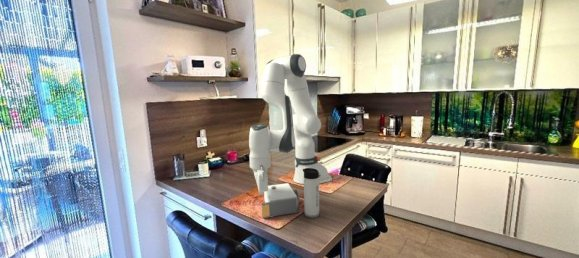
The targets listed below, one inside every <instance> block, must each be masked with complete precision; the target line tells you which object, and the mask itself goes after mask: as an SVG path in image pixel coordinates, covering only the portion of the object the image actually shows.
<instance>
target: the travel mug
mask: <svg viewBox="0 0 579 258" xmlns="http://www.w3.org/2000/svg"><path fill="white" fill-rule="evenodd" d="M303 172H304V184H303V198H304V199H303V200H304V201H303V205H304V206H303V207H304V208H303V209H304V212H303V213H304V216H306V217H307V218H310V219H311V218H312V219H314V218H317V217H319V215H320V184H319V171H318V170H317V169H313V168H305V169H303Z"/></svg>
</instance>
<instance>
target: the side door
mask: <svg viewBox="0 0 579 258" xmlns="http://www.w3.org/2000/svg"><path fill="white" fill-rule="evenodd" d="M260 205H261V217H262V219H264V218H271V217H278V216H282V215H290V214H296V213H299V197H298V198H295V199H288V200H281V201H273V202H266V203H265V202H261V204H260Z"/></svg>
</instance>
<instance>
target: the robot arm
mask: <svg viewBox="0 0 579 258" xmlns="http://www.w3.org/2000/svg"><path fill="white" fill-rule="evenodd" d="M306 68H307V62H306V59H305V57H303V55H301V54H300V53H293V54H288V55H283V56H281V57H278V58H275V59H271V60H270V61H268V62H267V63H266V64H265V67H264V69H263V71H262V77H261V83H260V95H261V98H262V100H263V101H265V102H266V103H267V104H269V105H271V106H274V107H276V108H278V109H280V110H281V114H282V126H283V128H282V129H269V125H268V124H266V123H257V124H253V125H252V126H250V128H249V135H248V146H249V155H248V157H249V168H250V169H251V170H252V172H253V176H254V178H255V183H256V186H257V189H258V191H257V192H258V194H259V196H262V195H264V192H266V191H268V186H269V179H268V172H267V171H268V170H269V168H271V166H272V165H271V162H272V161H271V152H279V153H285V154H288V153H290V152H292V151H293V150H295V151H294V153H295V156H294V166H295V168H294V176H293V182H294V183H297V184H301V185H304V172H303V169H305V168H313V169H317V170H318V171H319V185H320V184H324V183H329V182H332V181H333V178H332V176H331V175H330V174H329V172H328V169H327V168H326V166H325V165H323V164H322V163H320V161H321V160H322V158H321V157H319V156H316V155H315V154H316V152H315V147H316V145H315V141H314V139H313V137H312V135H315V134H318V133H319V131H320V130H321V128H322V122H321V120H320V118H319V117H318V116H317V114H316V112H315V109H314V106H313V103H312V101H311V96H310V91H309V87H308V82H307V77H306V76H305V72H306ZM285 81H286V82H285ZM285 83H286V85H285ZM286 86H287V92H288V95H286V91H285V87H286ZM293 111H294V114H293Z"/></svg>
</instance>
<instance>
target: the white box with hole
mask: <svg viewBox="0 0 579 258" xmlns="http://www.w3.org/2000/svg"><path fill="white" fill-rule="evenodd" d="M263 195H264V196H263V197H264V198H263V199H264V203H266V202H273V201H281V200H288V199H295V198H298V199H299V193H298V190H297V189H293V188H292V187H291V185H290V184H289V182H288V183H279V184H278V183H277V184H271V185H268V191H266V192H263Z"/></svg>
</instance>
